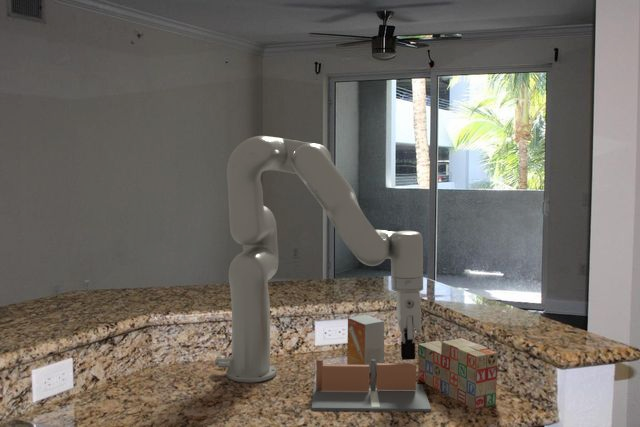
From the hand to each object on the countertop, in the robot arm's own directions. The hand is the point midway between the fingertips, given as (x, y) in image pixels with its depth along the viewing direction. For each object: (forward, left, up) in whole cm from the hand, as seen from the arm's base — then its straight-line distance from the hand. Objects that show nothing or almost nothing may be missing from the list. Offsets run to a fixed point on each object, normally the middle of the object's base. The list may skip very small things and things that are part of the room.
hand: (408, 358), depth 157 cm
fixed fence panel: (-16, -5, -6) cm, 18 cm away
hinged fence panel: (-4, -5, -6) cm, 9 cm away
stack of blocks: (+11, -4, -7) cm, 13 cm away
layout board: (-10, -8, -7) cm, 14 cm away
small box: (-10, +13, -7) cm, 17 cm away
